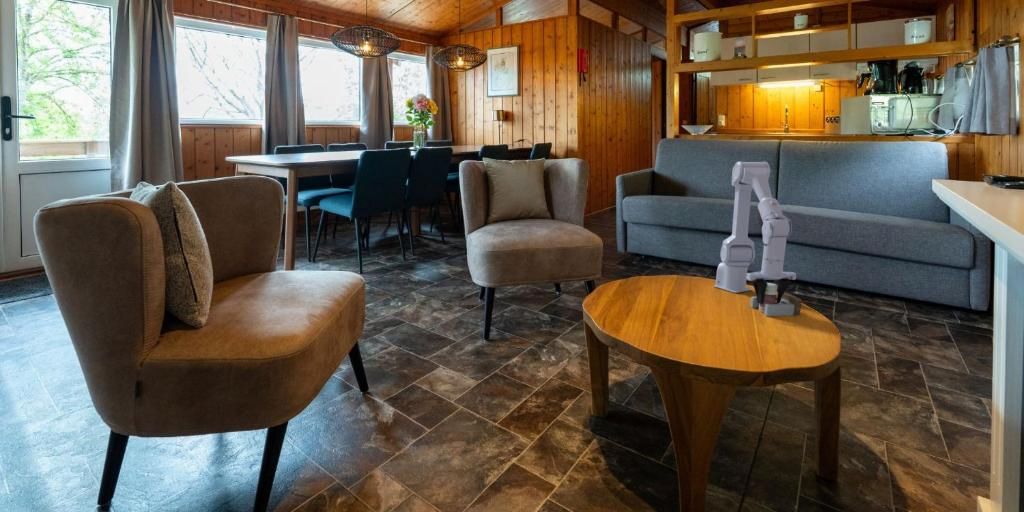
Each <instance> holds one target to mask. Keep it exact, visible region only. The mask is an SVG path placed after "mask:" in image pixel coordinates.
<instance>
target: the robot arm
mask: <svg viewBox="0 0 1024 512" xmlns="http://www.w3.org/2000/svg"><path fill="white" fill-rule="evenodd" d="M731 173H732V174H731V186H732V187H735V188H734V191H735V192H734V204H733V216H732V228H731V229H732V230H731V235H730V236H729V237H727V238H726V239H723V240H722V244H721V248H720V252H719V253H720V259H721V262H719V264H718V266H717V269H716V277H715V278H716V279H715V284H714V285H713V287H715V288H718V289H721V290H724V291H727V292H731V293H734V294H737V293H743V292H748V291H752V288H751V287H750V288H749V287H747V281H750V282H751V283H752V287H753V288H754V291H755V297H757V302H758V303H760V304H763V302H764V294H765V290H766V287H767V285H768V284H767V283H768V282H766V281H767V280H768V281H769V280H770V281H772V280H773V284H776V285H778V287H777V290H776V291H777V292H778V299H777V304H779V303H780V301H781V298H782V296H783V294H784V292H786V291H787V289H788V288H789V287H790V285H791V283H792V282H791V280H793V281H795V280H796V279H797V273H796V272H793V271H784V270H783V269H784V264H785V263H784V262H785V254H786V247H787V246H786V245H787V239H788V238H790V237H791V234H792V231H793V226H792V221H791V220H790V218H788V217H787V215H784V214H783V213H784V212H782V209H781V208H782V207H781V206H780V204H779V200H777V199H776V198H774V197H773V196H772V192H771V187H770V184H769V178H770V174H771V167H770V164H769V163H768V162H767V161H737V162H736V163H735V164H734V166H733V167H732V172H731ZM752 190H754V193H755V195H756V196H757V198H758V201H759V203H758V205H757V210H758V211H759V214H760V218H761V220H762V226H761V234H762V243H763V251H762V253H763V254H762V261H761V270H759V271H753V272H748V268H749V267H750V265H751V264H752V263H753V262H754V260H755V257H756V251H755V242H754V241H753V240H752V239H751V238H749V236H748V235H749V223H750V212H751V211H750V210H751V202H752V201H751V200H752V199H751V198H752Z"/></svg>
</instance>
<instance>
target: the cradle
mask: <svg viewBox="0 0 1024 512" xmlns="http://www.w3.org/2000/svg"><path fill="white" fill-rule="evenodd" d="M749 306H750V307H749V308H751V309H759V303H758V302H757V297H756V296H751V298H750V305H749ZM794 309H795V305H794V304H792V303H790V302H788V301H786V300H784V299H782V298H781V301H780V303H779V304H765V311H764V312H763V315H764V316H765V317H777V316H780V317H785V316H794Z"/></svg>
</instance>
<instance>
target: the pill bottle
mask: <svg viewBox="0 0 1024 512" xmlns="http://www.w3.org/2000/svg"><path fill="white" fill-rule="evenodd" d="M766 283H767V284H768V285H767V287H766V290H765V294H764V302H763V304H760V303H759V308H758V311H759V312H761V313H764V311H765V304H777V299H778V292H777V291H776V290H777V287H778V285H776V284H774V283H772V282H766Z"/></svg>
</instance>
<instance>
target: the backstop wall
mask: <svg viewBox="0 0 1024 512" xmlns="http://www.w3.org/2000/svg"><path fill="white" fill-rule="evenodd" d="M782 299H784V300H786V301H788V302H790V303H792V304H794V305H795V309H794V315H793V316H794V317H798V316H797V315H801V310H802V309H801V307H802V301H803V300H802V298H799V297H797V296H795V295H793V294H790V293H788V292H786V291H785V292H784V294H783V296H782Z"/></svg>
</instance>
